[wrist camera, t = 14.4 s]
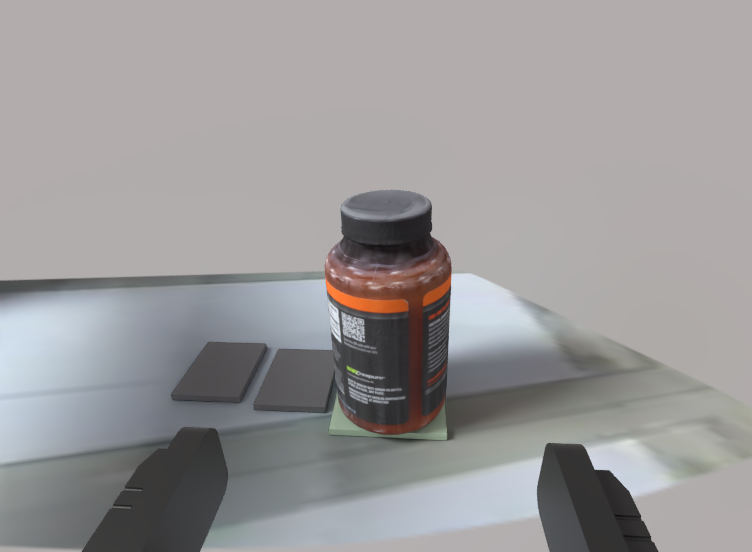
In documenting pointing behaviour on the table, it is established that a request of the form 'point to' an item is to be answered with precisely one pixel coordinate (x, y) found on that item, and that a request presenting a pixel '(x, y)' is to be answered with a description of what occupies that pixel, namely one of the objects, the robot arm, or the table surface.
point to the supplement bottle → (389, 312)
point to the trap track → (280, 385)
